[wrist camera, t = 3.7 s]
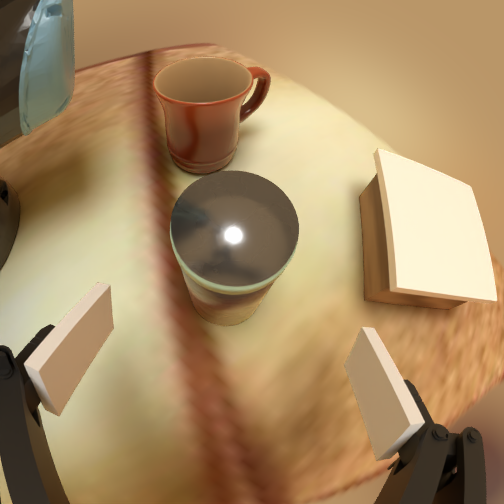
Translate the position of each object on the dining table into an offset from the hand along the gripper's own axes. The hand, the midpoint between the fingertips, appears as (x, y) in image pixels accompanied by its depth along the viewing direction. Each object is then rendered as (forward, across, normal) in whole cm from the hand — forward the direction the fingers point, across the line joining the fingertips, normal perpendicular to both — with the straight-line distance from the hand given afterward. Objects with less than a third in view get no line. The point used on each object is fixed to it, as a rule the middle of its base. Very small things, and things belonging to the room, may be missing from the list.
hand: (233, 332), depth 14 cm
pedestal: (+15, +18, +2) cm, 24 cm away
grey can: (+10, -1, -3) cm, 10 cm away
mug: (+21, -5, +8) cm, 23 cm away
